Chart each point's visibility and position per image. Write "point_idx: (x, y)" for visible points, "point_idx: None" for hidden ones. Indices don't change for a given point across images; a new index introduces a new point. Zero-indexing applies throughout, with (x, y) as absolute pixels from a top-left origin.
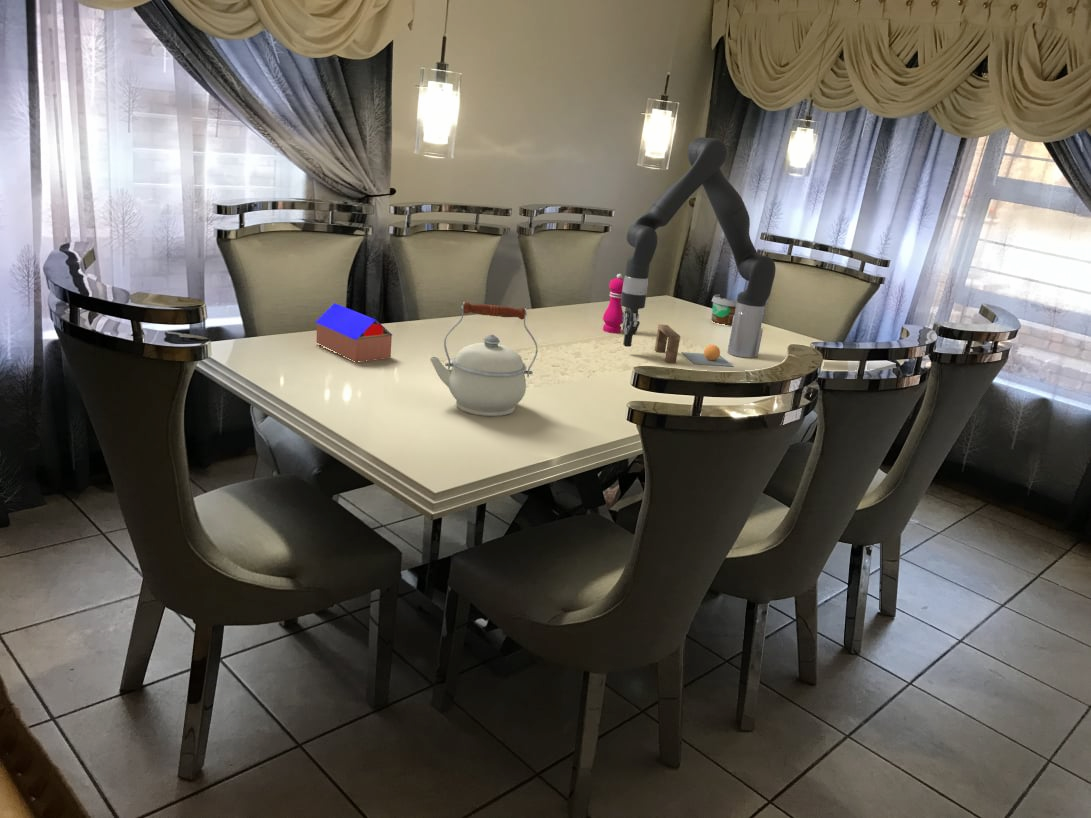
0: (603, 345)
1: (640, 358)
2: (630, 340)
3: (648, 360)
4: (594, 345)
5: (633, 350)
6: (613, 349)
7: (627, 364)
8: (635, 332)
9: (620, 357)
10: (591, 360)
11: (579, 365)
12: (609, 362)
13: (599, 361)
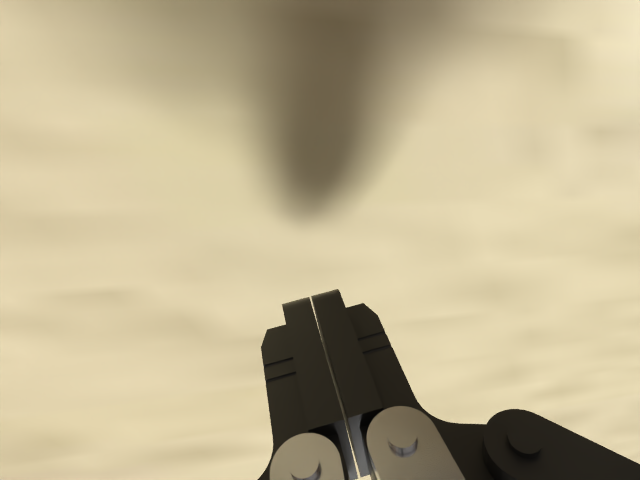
0: (86, 434)
1: (412, 116)
2: (395, 356)
3: (475, 17)
4: (142, 471)
5: (67, 196)
6: (178, 361)
7: (626, 228)
8: (593, 447)
9: (431, 289)
10: (542, 412)
11: (634, 430)
12: (577, 335)
13: (559, 380)
